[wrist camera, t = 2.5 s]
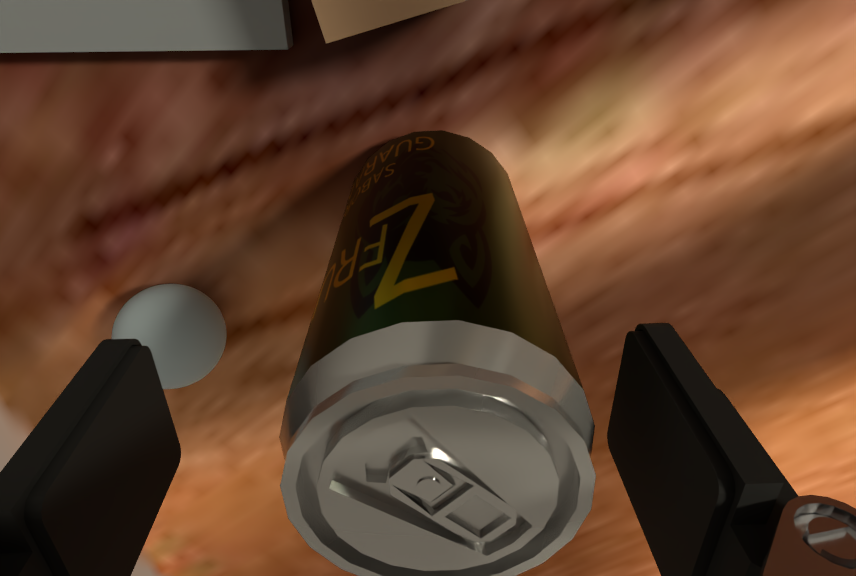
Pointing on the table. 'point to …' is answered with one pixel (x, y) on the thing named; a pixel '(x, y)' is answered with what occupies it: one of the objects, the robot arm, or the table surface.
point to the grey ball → (175, 331)
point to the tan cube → (368, 14)
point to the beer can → (435, 380)
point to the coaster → (143, 25)
